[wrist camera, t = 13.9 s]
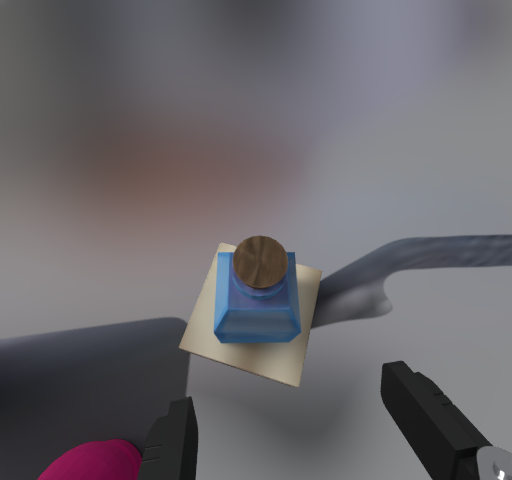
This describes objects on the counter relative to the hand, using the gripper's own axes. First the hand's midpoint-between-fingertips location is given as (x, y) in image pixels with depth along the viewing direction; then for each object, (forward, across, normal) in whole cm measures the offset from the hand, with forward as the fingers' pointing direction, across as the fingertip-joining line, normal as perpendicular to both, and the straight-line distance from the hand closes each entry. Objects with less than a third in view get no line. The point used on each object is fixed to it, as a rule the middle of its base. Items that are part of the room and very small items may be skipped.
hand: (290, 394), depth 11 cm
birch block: (+19, 0, +9) cm, 21 cm away
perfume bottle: (+14, 0, +5) cm, 15 cm away
